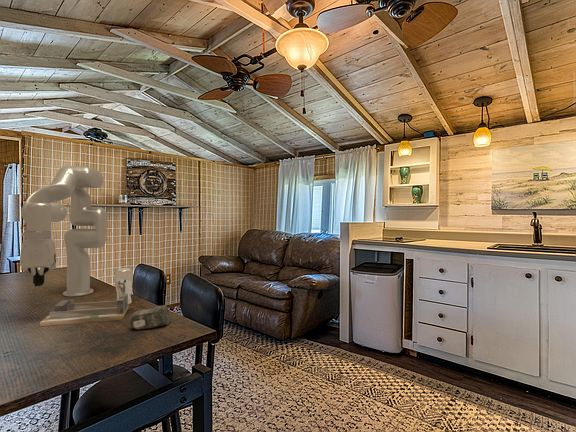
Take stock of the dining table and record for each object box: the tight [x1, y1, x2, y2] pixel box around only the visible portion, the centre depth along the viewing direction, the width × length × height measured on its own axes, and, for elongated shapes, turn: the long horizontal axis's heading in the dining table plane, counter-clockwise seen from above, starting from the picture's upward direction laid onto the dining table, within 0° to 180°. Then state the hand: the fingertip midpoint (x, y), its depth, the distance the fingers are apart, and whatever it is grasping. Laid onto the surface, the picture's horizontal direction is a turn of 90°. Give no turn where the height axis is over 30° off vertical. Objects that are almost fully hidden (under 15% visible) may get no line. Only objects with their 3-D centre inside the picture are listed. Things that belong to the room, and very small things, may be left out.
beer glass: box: [114, 267, 134, 305], centre depth 144 cm, size 7×7×15 cm
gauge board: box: [39, 294, 130, 327], centre depth 127 cm, size 16×26×6 cm, turn 107°
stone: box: [128, 304, 172, 331], centre depth 116 cm, size 14×7×10 cm, turn 131°
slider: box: [53, 299, 75, 312], centre depth 123 cm, size 12×4×5 cm, turn 17°
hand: (38, 285), depth 121 cm, fingers closed
